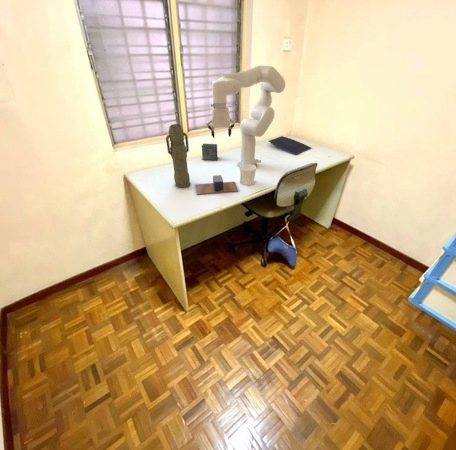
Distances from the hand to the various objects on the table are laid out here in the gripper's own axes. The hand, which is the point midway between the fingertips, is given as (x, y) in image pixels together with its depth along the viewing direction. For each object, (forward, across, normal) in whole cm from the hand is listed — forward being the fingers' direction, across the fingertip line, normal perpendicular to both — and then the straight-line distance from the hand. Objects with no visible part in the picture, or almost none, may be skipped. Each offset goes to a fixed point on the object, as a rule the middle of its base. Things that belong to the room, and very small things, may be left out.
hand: (221, 136), depth 150 cm
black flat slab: (+28, +63, +44) cm, 82 cm away
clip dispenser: (+24, -6, -18) cm, 31 cm away
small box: (+26, -5, +30) cm, 40 cm away
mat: (+25, -7, -18) cm, 31 cm away
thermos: (+25, -27, -9) cm, 38 cm away
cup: (+26, +13, -13) cm, 32 cm away
